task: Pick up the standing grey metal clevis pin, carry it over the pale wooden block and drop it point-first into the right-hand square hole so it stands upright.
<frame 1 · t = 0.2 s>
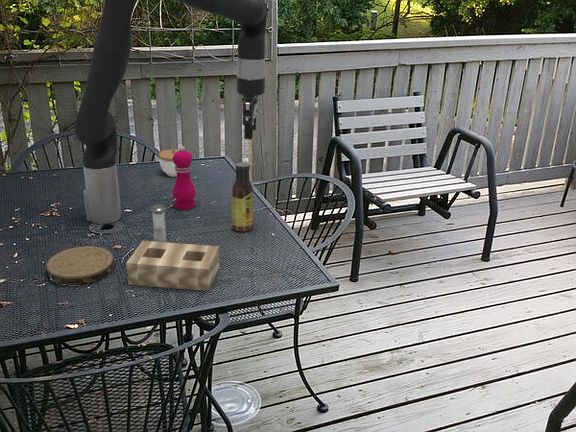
hand: (250, 134, 160), 29 cm above the table, tool pointing down, fingers open, 8 cm apart
cork coaster: (81, 271, 147), on the table
clevis pin: (160, 247, 159), on the table
lidded jar: (175, 174, 212), on the table
pepper mill: (184, 206, 186), on the table
sauce bottle: (242, 228, 173), on the table
hole block: (175, 275, 146), on the table
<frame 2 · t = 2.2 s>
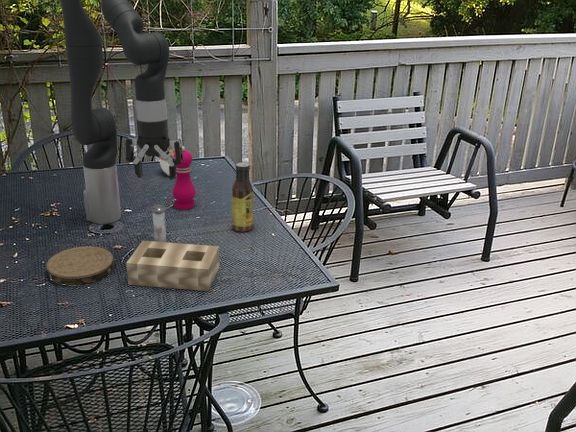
hand: (156, 177, 151), 20 cm above the table, tool pointing down, fingers open, 8 cm apart
nothing on the table moved.
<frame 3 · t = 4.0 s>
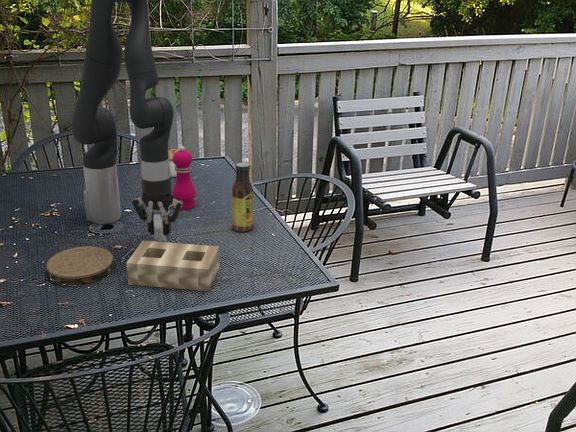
hand: (159, 234, 158), 4 cm above the table, tool pointing down, fingers closed on clevis pin, 3 cm apart
clevis pin: (160, 247, 159), on the table, touching gripper
everything else where it was.
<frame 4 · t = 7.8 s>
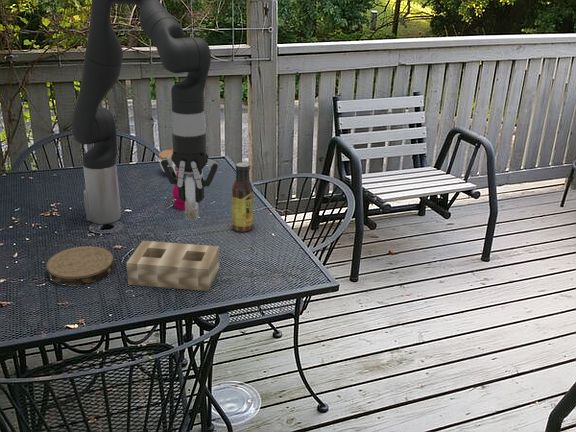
hand: (191, 200, 137), 21 cm above the table, tool pointing down, fingers closed on clevis pin, 3 cm apart
clevis pin: (192, 216, 139), point 17 cm above the table, touching gripper
everything else where it was.
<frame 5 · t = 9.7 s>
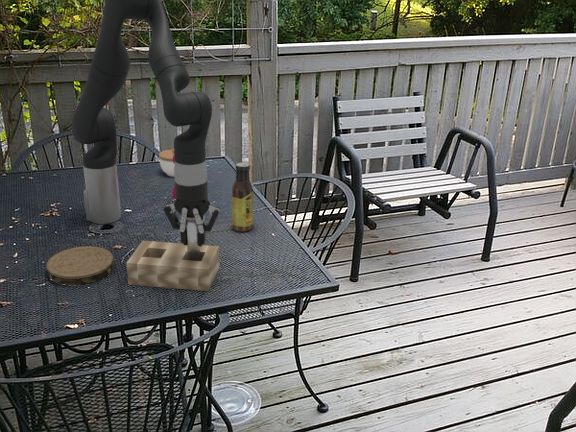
hand: (193, 244, 142), 9 cm above the table, tool pointing down, fingers closed on clevis pin, 3 cm apart
clevis pin: (194, 259, 144), point 5 cm above the table, touching gripper
everything else where it was.
when the fingers open (7 cm above the table, at t = 11.2 s): clevis pin drops 3 cm, resting in hole block.
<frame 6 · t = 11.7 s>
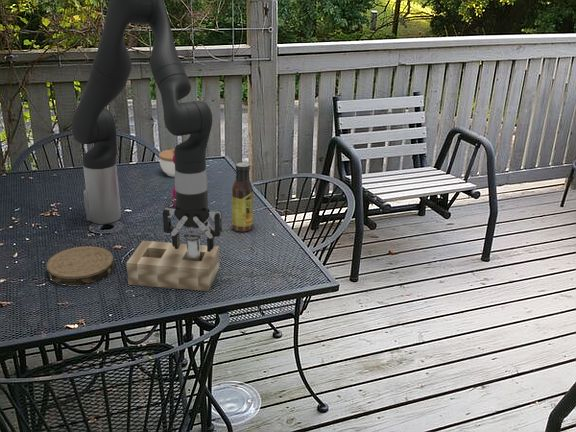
hand: (193, 248, 142), 8 cm above the table, tool pointing down, fingers open, 7 cm apart
clevis pin: (194, 276, 146), resting in hole block
everything else where it was.
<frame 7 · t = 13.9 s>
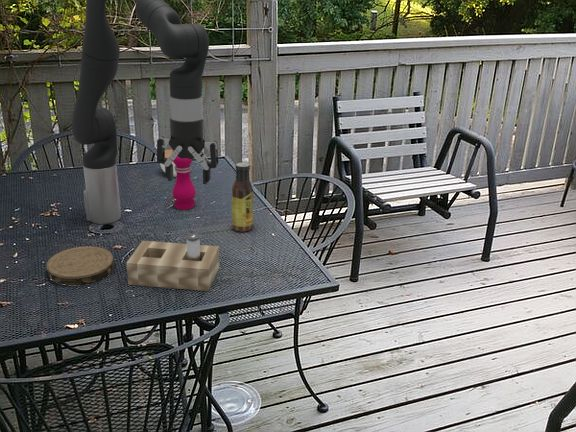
hand: (188, 181, 139), 24 cm above the table, tool pointing down, fingers open, 8 cm apart
nothing on the table moved.
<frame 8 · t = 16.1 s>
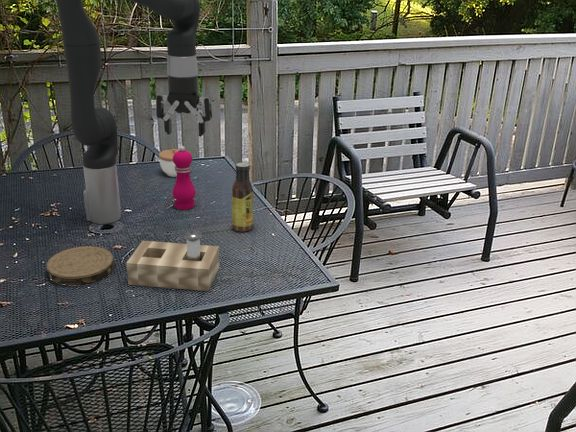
hand: (185, 134, 154), 30 cm above the table, tool pointing down, fingers open, 8 cm apart
nothing on the table moved.
at the end: clevis pin 0.1 cm from the target spot on the hole block, point 0.0 cm above the hole block's base; clevis pin tilted 0°; the gripper is holding nothing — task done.
